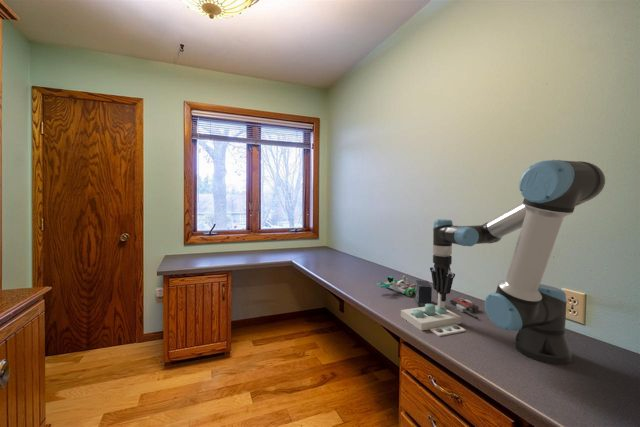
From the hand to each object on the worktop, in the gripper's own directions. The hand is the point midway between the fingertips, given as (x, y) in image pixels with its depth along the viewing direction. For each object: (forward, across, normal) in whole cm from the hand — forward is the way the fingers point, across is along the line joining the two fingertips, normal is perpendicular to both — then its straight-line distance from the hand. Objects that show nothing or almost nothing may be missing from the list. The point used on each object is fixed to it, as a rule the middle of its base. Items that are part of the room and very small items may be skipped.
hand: (441, 307), depth 122 cm
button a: (+4, 0, 0) cm, 4 cm away
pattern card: (+5, -11, +6) cm, 13 cm away
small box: (+5, +17, -4) cm, 18 cm away
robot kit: (+5, +36, -1) cm, 37 cm away
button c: (+4, 0, +12) cm, 13 cm away
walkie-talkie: (+5, +3, -18) cm, 19 cm away
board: (+5, 0, +6) cm, 8 cm away
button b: (+2, 0, +6) cm, 6 cm away
